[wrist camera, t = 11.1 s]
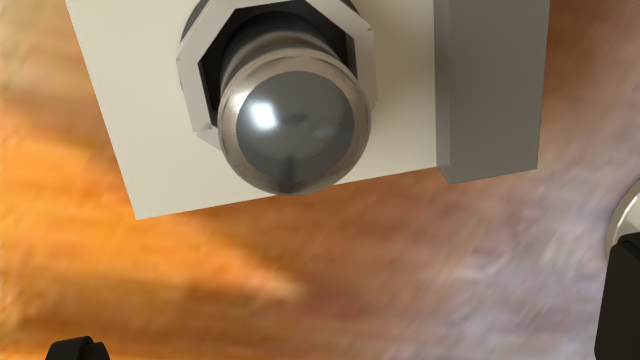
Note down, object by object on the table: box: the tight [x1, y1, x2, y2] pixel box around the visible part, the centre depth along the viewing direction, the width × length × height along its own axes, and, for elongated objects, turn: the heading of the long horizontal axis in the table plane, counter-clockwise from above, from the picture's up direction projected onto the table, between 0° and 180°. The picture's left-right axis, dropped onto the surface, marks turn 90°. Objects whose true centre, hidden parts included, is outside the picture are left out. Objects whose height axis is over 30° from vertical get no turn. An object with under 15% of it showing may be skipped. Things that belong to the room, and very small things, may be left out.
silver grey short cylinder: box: [218, 11, 371, 196], centre depth 22 cm, size 5×5×7 cm
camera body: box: [65, 0, 550, 220], centre depth 27 cm, size 20×13×8 cm, turn 97°
